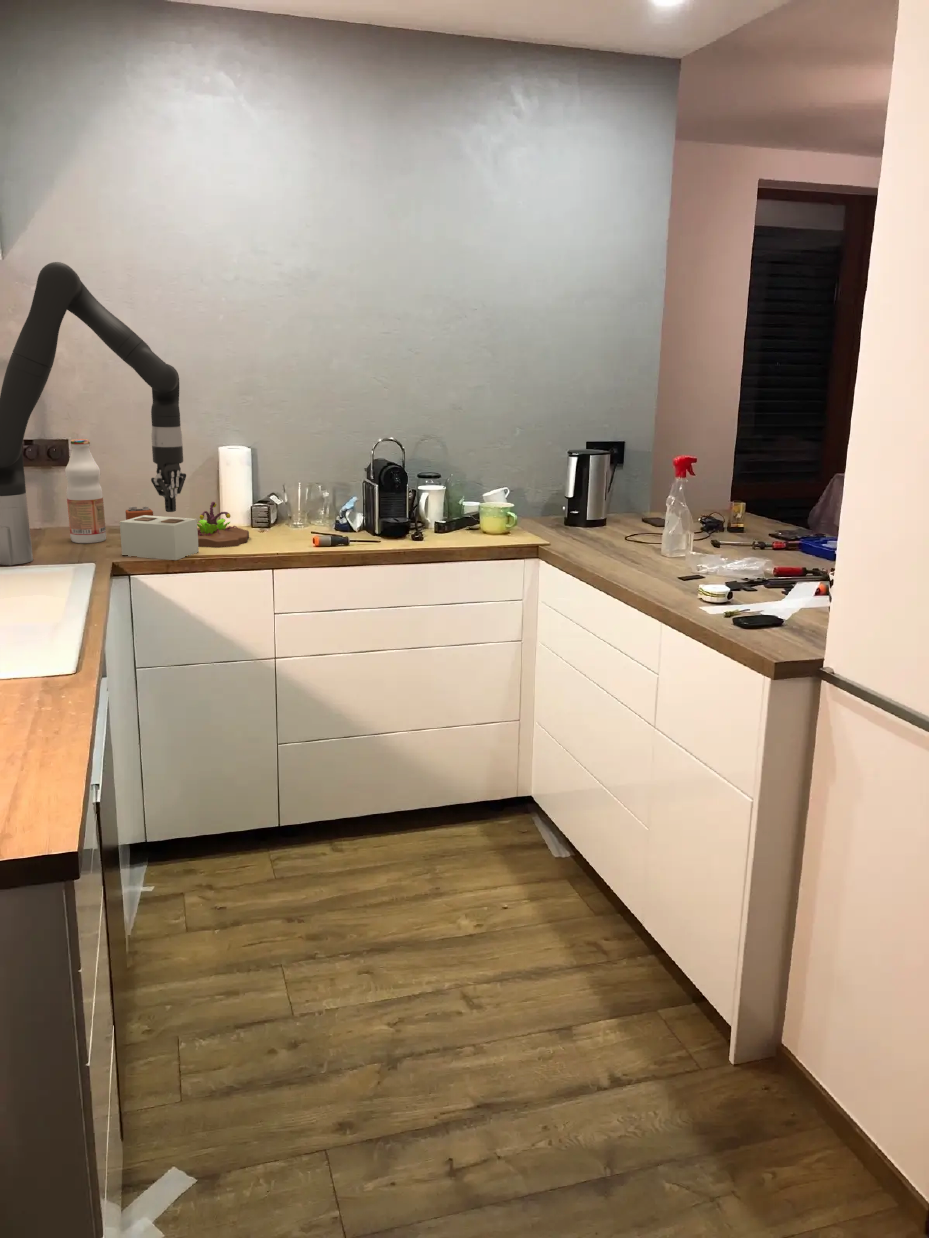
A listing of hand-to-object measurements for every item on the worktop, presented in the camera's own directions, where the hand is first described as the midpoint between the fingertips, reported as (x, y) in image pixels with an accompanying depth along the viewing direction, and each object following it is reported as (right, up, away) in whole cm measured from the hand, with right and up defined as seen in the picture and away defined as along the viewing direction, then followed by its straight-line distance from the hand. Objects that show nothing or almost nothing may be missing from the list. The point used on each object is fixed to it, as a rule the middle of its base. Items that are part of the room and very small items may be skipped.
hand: (170, 511), depth 257 cm
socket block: (-4, -11, +4) cm, 12 cm away
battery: (-14, -7, +19) cm, 25 cm away
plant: (+5, -6, +23) cm, 25 cm away
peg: (0, -11, +3) cm, 11 cm away
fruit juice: (-29, -6, +21) cm, 36 cm away
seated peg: (-8, -10, +5) cm, 14 cm away
